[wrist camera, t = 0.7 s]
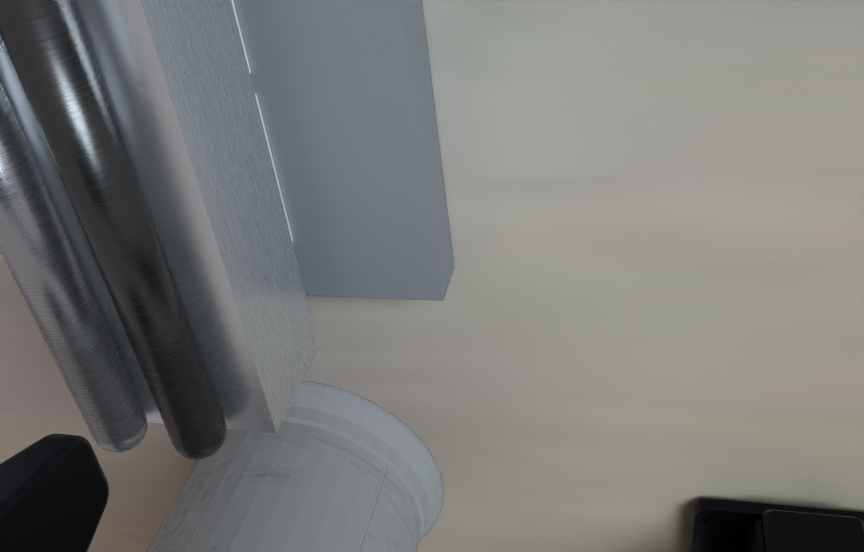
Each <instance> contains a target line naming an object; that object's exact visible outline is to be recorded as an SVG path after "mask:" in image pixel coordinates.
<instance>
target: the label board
mask: <svg viewBox="0 0 864 552" xmlns="http://www.w3.org/2000/svg"><path fill="white" fill-rule="evenodd" d="M231 1H232V5H233V9H234V13H235V17H236V21H237V25H238V29H239V33H240V37H241V41H242V45H243V49H244V53H245V56H246V60H247V64H248V68H249V72H250V76H251V80H252V84H253V88H254V92H255V96H256V100H257V104H258V108H259V112H260V116H261V120H262V124H263V128H264V132H265V136H266V140H267V144H268V148H269V152H270V156H271V160H272V163H273V167H274V171H275V175H276V179H277V183H278V187H279V191H280V195H281V199H282V203H283V207H284V211H285V215H286V219H287V223H288V227H289V231H290V235H291V239H292V243H293V247H294V251H295V255H296V259H297V263H298V267H299V271H300V274H301V278H302V282H303V286H304V290H305V294H306V296H333V297H359V298H386V299H412V300H438V301H443V300H444V297H445V294H446V291H447V288H448V285H449V282H450V279H451V276H452V273H453V270H454V261H453V252H452V244H451V236H450V228H449V220H448V211H447V203H446V195H445V187H444V178H443V170H442V162H441V154H440V145H439V137H438V129H437V121H436V112H435V104H434V96H433V88H432V80H431V71H430V63H429V55H428V47H427V38H426V30H425V22H424V14H423V5H422V0H231Z"/></svg>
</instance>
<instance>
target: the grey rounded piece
mask: <svg viewBox="0 0 864 552" xmlns="http://www.w3.org/2000/svg"><path fill="white" fill-rule="evenodd" d="M443 492H444V489H443V484H442V479H441V474H440V472H439V470H438V467H437V465H436V463H435V460H434V458H433V457H432V455H431V454H430V452H429V451H428V449H427V448H426V446H425V445H424V443H423V442H422V441H421V440H420V439H419V438H418V437H417V436H416V435H415V434H414V433H413V432H412V431H411V430H410V429H409V428H408V427H407V426H406V425H404V424H403V423H402V422H401V421H399V420H398V419H397V418H396V417H395V416H393V415H392V414H390V413H389V412H387V411H385V410H384V409H382V408H381V407H379V406H377V405H376V404H374V403H372V402H370V401H368V400H366V399H364V398H361V397H359V396H357V395H355V394H353V393H350V392H347V391H344V390H341V389H338V388H335V387H332V386H328V385H324V384H319V383H313V382H308V381H302V382H301V384H300V386H299V388H298V390H297V393H296V395H295V397H294V399H293V401H292V403H291V405H290V407H289V409H288V411H287V413H286V415H285V417H284V419H283V421H282V423H281V425H280V427H279V429H278V431H277V433H269V432H256V431H244V430H232V429H227V434H226V438H225V441H224V443H223V445H222V447H221V448H220V449H219V450H218V451H217V452H216V453H215V454H214V455H212V456H210V457H208V458H205V459H199V460H198V462H197V464H196V466H195V467H194V469H193V471H192V473H191V474H190V476H189V478H188V479H187V481H186V483H185V485H184V486H183V488H182V490H181V492H180V493H179V495H178V497H177V498H176V500H175V502H174V504H173V505H172V507H171V509H170V511H169V512H168V514H167V516H166V517H165V519H164V521H163V523H162V524H161V526H160V528H159V530H158V531H157V533H156V535H155V536H154V538H153V540H152V542H151V543H150V545H149V547H148V549H147V550H146V552H416V550H417V546H418V544H419V542H420V540H421V539H422V538H423V537H424V536H425V535H426V534H427V533H428V532H429V530H430V529H431V527H432V526H433V525H434V523H435V522H436V521H437V518H438V516H439V513H440V510H441V508H442V505H443Z"/></svg>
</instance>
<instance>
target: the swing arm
mask: <svg viewBox="0 0 864 552" xmlns="http://www.w3.org/2000/svg"><path fill="white" fill-rule="evenodd" d="M0 251H1V253H2V255H3V257H4V259H5V261H6V263H7V265H8V267H9V269H10V271H11V273H12V275H13V277H14V279H15V281H16V283H17V285H18V287H19V289H20V291H21V293H22V295H23V297H24V299H25V301H26V303H27V305H28V307H29V309H30V311H31V313H32V315H33V317H34V319H35V321H36V323H37V325H38V327H39V329H40V331H41V333H42V335H43V338H44V340H45V342H46V344H47V346H48V348H49V350H50V352H51V354H52V356H53V358H54V360H55V362H56V364H57V366H58V368H59V370H60V372H61V374H62V376H63V378H64V380H65V382H66V384H67V386H68V388H69V390H70V392H71V394H72V396H73V398H74V400H75V402H76V404H77V406H78V408H79V410H80V412H81V414H82V416H83V418H84V420H85V422H86V424H87V426H88V428H89V430H90V432H91V434H92V436H93V438H94V440H95V441H96V443H97V444H98V445H99V446H101V447H102V448H103V449H106V450H108V451H112V452H123V451H127V450H129V449H131V448H133V447H135V446H136V445H137V444H139V443H140V441H141V440H142V439H143V437H144V435H145V433H146V429H147V423H158V424H164V425H165V427H166V429H167V432H168V434H169V437H170V439H171V441H172V444H173V446H174V447H175V449H176V450H177V451H178V452H179V453H180V454H181V455H183V456H185V457H187V458H190V459H205V458H208V457H210V456H212V455H214V454H215V453H216V452H217V451H218V450H219V449H220V448H221V447H222V445H223V443H224V441H225V438H226V434H227V429H232V430H244V431H256V432H269V433H277V431H278V429H279V427H280V425H281V423H282V421H283V419H284V417H285V415H286V413H287V411H288V409H289V407H290V405H291V403H292V401H293V399H294V397H295V395H296V393H297V390H298V388H299V386H300V384H301V382H302V380H303V378H304V376H305V374H306V372H307V370H308V368H309V366H310V364H311V362H312V360H313V358H314V356H315V354H316V352H317V350H318V348H319V346H318V342H317V338H316V334H315V330H314V326H313V322H312V318H311V314H310V310H309V306H308V302H307V298H306V294H305V290H304V286H303V282H302V278H301V274H300V271H299V267H298V263H297V259H296V255H295V251H294V247H293V243H292V239H291V235H290V231H289V227H288V223H287V219H286V215H285V211H284V207H283V203H282V199H281V195H280V191H279V187H278V183H277V179H276V175H275V171H274V167H273V163H272V160H271V156H270V152H269V148H268V144H267V140H266V136H265V132H264V128H263V124H262V120H261V116H260V112H259V108H258V104H257V100H256V96H255V92H254V88H253V84H252V80H251V76H250V72H249V68H248V64H247V60H246V56H245V53H244V49H243V45H242V41H241V37H240V33H239V29H238V25H237V21H236V17H235V13H234V9H233V5H232V1H231V0H0Z"/></svg>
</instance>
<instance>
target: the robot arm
mask: <svg viewBox="0 0 864 552" xmlns="http://www.w3.org/2000/svg"><path fill="white" fill-rule="evenodd" d="M108 494H109V487H108V482H107V479H106V477H105V475H104V473H103V471H102V468H101V466H100V464H99V462H98V460H97V457H96V455H95V453H94V451H93V449H92V446H91V444H90V443H89V441H88V440H86V439H85V438H84V437H81V436H75V435H66V434H51V435H48V436H46V437H44V438H42V439H40V440H39V441H37V442H35V443H34V444H32V445H30V446H29V447H27V448H25V449H24V450H22V451H21V452H19V453H17V454H16V455H14V456H12V457H11V458H9V459H7V460H6V461H4V462H3V463H1V464H0V552H87V551H88V548H89V546H90V543H91V541H92V539H93V536H94V534H95V531H96V529H97V526H98V524H99V522H100V519H101V517H102V514H103V512H104V509H105V507H106V504H107V500H108ZM709 515H712V516H709ZM689 552H864V513H857V512H845V511H834V510H823V509H812V508H801V507H790V506H779V505H768V504H757V503H746V502H735V501H723V500H712V499H710V500H703V501H699V502H698V503H697V504H695V507H694V510H693V520H692V530H691V540H690V550H689Z"/></svg>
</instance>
